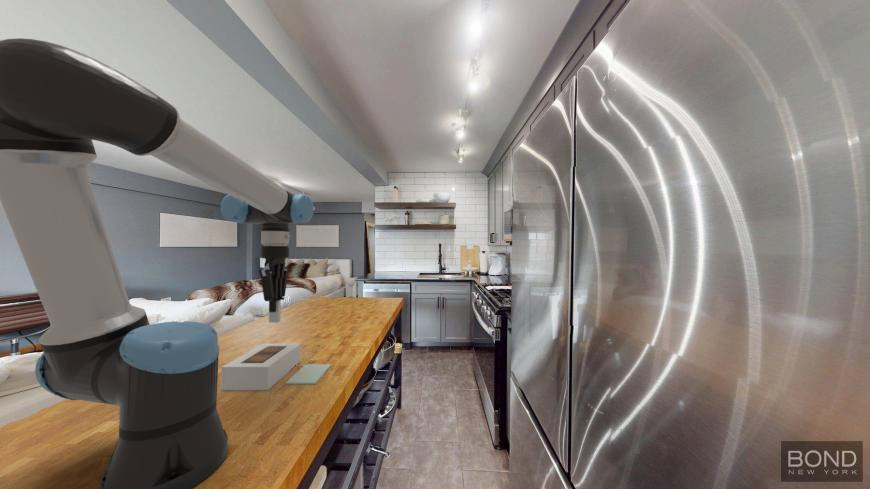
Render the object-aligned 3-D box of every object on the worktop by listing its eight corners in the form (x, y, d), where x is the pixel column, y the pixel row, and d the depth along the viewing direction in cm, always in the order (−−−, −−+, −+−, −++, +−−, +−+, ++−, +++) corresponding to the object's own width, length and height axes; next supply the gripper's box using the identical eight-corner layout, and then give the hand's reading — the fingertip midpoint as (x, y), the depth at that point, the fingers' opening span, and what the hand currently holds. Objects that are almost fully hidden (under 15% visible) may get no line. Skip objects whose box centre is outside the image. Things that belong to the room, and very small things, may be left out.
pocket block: (268, 390, 72) (268, 366, 72) (221, 390, 71) (221, 367, 71) (300, 362, 90) (300, 343, 90) (262, 362, 89) (263, 343, 89)
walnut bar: (261, 371, 75) (261, 362, 75) (242, 371, 74) (243, 362, 74) (284, 354, 87) (284, 346, 87) (268, 354, 86) (268, 346, 86)
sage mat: (315, 384, 75) (315, 382, 75) (285, 384, 75) (285, 382, 75) (331, 365, 87) (331, 364, 87) (305, 365, 87) (305, 364, 87)
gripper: (276, 245, 79) (275, 328, 79) (297, 245, 92) (297, 316, 92) (249, 245, 79) (248, 328, 78) (274, 245, 92) (274, 316, 91)
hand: (274, 321), depth 85 cm, fingers closed
